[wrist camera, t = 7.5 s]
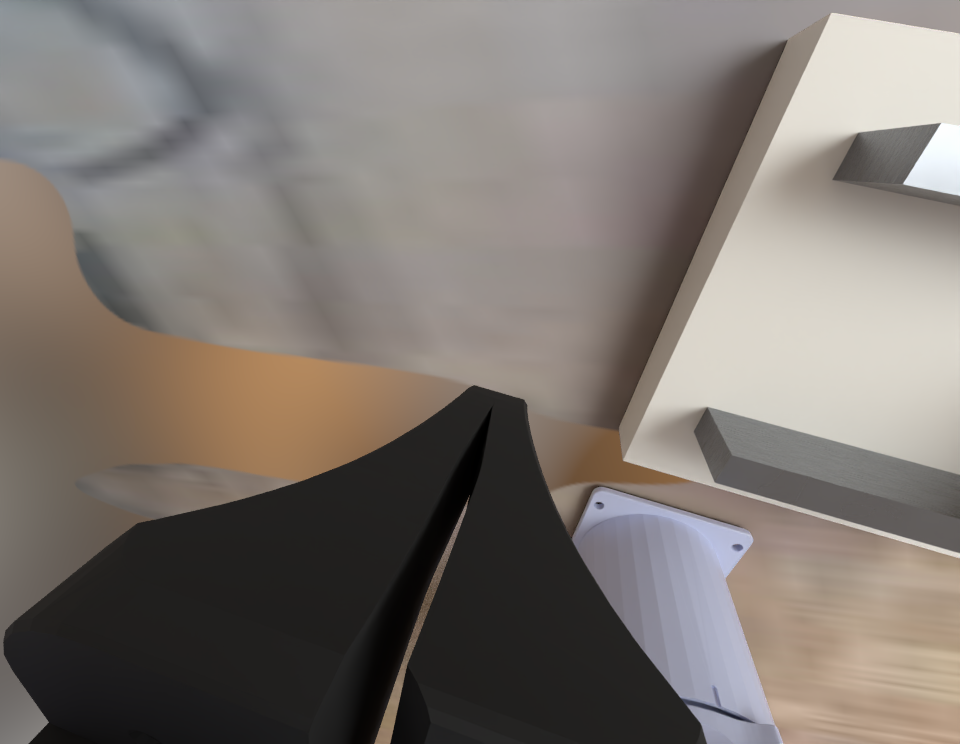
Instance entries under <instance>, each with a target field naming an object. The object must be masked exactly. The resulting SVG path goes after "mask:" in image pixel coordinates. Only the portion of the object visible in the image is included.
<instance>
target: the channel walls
mask: <svg viewBox="0 0 960 744" xmlns="http://www.w3.org/2000/svg"><path fill="white" fill-rule="evenodd" d="M832 180H835V181H840V182H845V183H850V184H855V185H860V186H864V187H869V188H874V189H879V190H884V191H889V192H894V193H899V194H903V195H908V196H913V197H918V198H923V199H928V200H933V201H938V202H942V203H947V204H952V205H957V206H960V126H955V125H950V124H945V123H936V124H928V125H919V126H910V127H902V128H893V129H884V130H876V131H867V132H858V134H857V136H856V138H855V139H854V141H853V143H852V145H851V147H850V148H849V150H848V152H847V154H846V156H845V158H844V159H843V161H842V163H841V165H840V167H839V168H838V170H837V172H836V174H835V176H834V178H833V179H832ZM694 434H695V436H696V438H697V441H698V443H699V446H700V448H701V451H702V453H703V455H704V458H705V460H706V463H707V465H708V467H709V470H710V472H711V475H712V477H713V480H714V482H715V483H718V484H721V485H725V486H728V487H731V488H735V489H738V490H742V491H745V492H749V493H752V494H756V495H759V496H763V497H766V498H770V499H773V500H776V501H780V502H783V503H787V504H790V505H794V506H797V507H801V508H804V509H808V510H811V511H815V512H818V513H822V514H825V515H828V516H832V517H835V518H839V519H842V520H846V521H849V522H853V523H856V524H860V525H863V526H867V527H870V528H873V529H877V530H880V531H884V532H887V533H891V534H894V535H898V536H901V537H905V538H908V539H912V540H915V541H919V542H922V543H925V544H929V545H932V546H936V547H939V548H943V549H946V550H950V551H953V552H957V553H960V475H959V474H955V473H951V472H947V471H944V470H940V469H936V468H933V467H929V466H925V465H921V464H918V463H914V462H910V461H907V460H903V459H899V458H896V457H892V456H888V455H884V454H881V453H877V452H873V451H870V450H866V449H862V448H858V447H855V446H851V445H847V444H844V443H840V442H836V441H832V440H829V439H825V438H821V437H818V436H814V435H810V434H807V433H803V432H799V431H795V430H792V429H788V428H784V427H781V426H777V425H773V424H769V423H766V422H762V421H758V420H755V419H751V418H747V417H744V416H740V415H736V414H732V413H729V412H725V411H721V410H718V409H714V408H710V407H707V408H706V410H705V412H704V414H703V415H702V417H701V419H700V421H699V423H698V425H697V426H696V428H695V430H694Z"/></svg>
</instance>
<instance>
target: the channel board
mask: <svg viewBox="0 0 960 744" xmlns="http://www.w3.org/2000/svg"><path fill="white" fill-rule="evenodd" d="M936 123H945V124H950V125H955V126H960V34H959V33H953V32H946V31H940V30H934V29H928V28H922V27H916V26H910V25H904V24H898V23H891V22H885V21H879V20H873V19H867V18H861V17H855V16H849V15H843V14H836V13H830V14H829V15H827V16H825V17H824V18H822V19H821V20H819V21H817V22H816V23H814V24H812V25H811V26H809V27H807V28H806V29H804V30H803V31H801V32H799V33H798V34H796V35H794V36H793V37H791V38H789V39H788V41H787V44H786V46H785V48H784V51H783V53H782V55H781V57H780V60H779V62H778V64H777V67H776V69H775V71H774V73H773V76H772V78H771V80H770V83H769V85H768V87H767V89H766V92H765V94H764V96H763V99H762V101H761V103H760V105H759V108H758V110H757V112H756V115H755V117H754V119H753V122H752V124H751V126H750V128H749V131H748V133H747V135H746V138H745V140H744V142H743V144H742V147H741V149H740V151H739V154H738V156H737V158H736V160H735V163H734V165H733V167H732V170H731V172H730V174H729V176H728V179H727V181H726V183H725V186H724V188H723V190H722V192H721V195H720V197H719V199H718V202H717V204H716V206H715V208H714V211H713V213H712V215H711V218H710V220H709V222H708V225H707V227H706V229H705V231H704V234H703V236H702V238H701V241H700V243H699V245H698V247H697V250H696V252H695V254H694V257H693V259H692V261H691V263H690V266H689V268H688V270H687V273H686V275H685V277H684V279H683V282H682V284H681V286H680V289H679V291H678V293H677V295H676V298H675V300H674V302H673V305H672V307H671V309H670V311H669V314H668V316H667V318H666V321H665V323H664V325H663V328H662V330H661V332H660V334H659V337H658V339H657V341H656V344H655V346H654V348H653V350H652V353H651V355H650V357H649V360H648V362H647V364H646V366H645V369H644V371H643V373H642V376H641V378H640V380H639V382H638V385H637V387H636V389H635V392H634V394H633V396H632V398H631V401H630V403H629V405H628V408H627V410H626V412H625V414H624V417H623V419H622V421H621V424H620V426H619V435H620V442H621V450H622V457H623V461H626V462H629V463H633V464H636V465H639V466H643V467H646V468H650V469H653V470H657V471H660V472H664V473H667V474H671V475H674V476H677V477H681V478H684V479H688V480H691V481H695V482H698V483H702V484H705V485H708V486H712V487H715V488H719V489H722V490H726V491H729V492H733V493H736V494H739V495H743V496H746V497H750V498H753V499H757V500H760V501H764V502H767V503H771V504H774V505H777V506H781V507H784V508H788V509H791V510H795V511H798V512H802V513H805V514H808V515H812V516H815V517H819V518H822V519H826V520H829V521H833V522H836V523H840V524H843V525H846V526H850V527H853V528H857V529H860V530H864V531H867V532H871V533H874V534H877V535H881V536H884V537H888V538H891V539H895V540H898V541H902V542H905V543H909V544H912V545H915V546H919V547H922V548H926V549H929V550H933V551H936V552H940V553H943V554H946V555H950V556H953V557H957V558H960V553H957V552H953V551H950V550H946V549H943V548H939V547H936V546H932V545H929V544H925V543H922V542H919V541H915V540H912V539H908V538H905V537H901V536H898V535H894V534H891V533H887V532H884V531H880V530H877V529H873V528H870V527H867V526H863V525H860V524H856V523H853V522H849V521H846V520H842V519H839V518H835V517H832V516H828V515H825V514H822V513H818V512H815V511H811V510H808V509H804V508H801V507H797V506H794V505H790V504H787V503H783V502H780V501H776V500H773V499H770V498H766V497H763V496H759V495H756V494H752V493H749V492H745V491H742V490H738V489H735V488H731V487H728V486H725V485H721V484H718V483H715V482H714V480H713V477H712V475H711V472H710V470H709V467H708V465H707V463H706V460H705V458H704V455H703V453H702V451H701V448H700V446H699V443H698V441H697V438H696V436H695V434H694V430H695V428H696V426H697V425H698V423H699V421H700V419H701V417H702V415H703V414H704V412H705V410H706V408H707V407H710V408H714V409H718V410H721V411H725V412H729V413H732V414H736V415H740V416H744V417H747V418H751V419H755V420H758V421H762V422H766V423H769V424H773V425H777V426H781V427H784V428H788V429H792V430H795V431H799V432H803V433H807V434H810V435H814V436H818V437H821V438H825V439H829V440H832V441H836V442H840V443H844V444H847V445H851V446H855V447H858V448H862V449H866V450H870V451H873V452H877V453H881V454H884V455H888V456H892V457H896V458H899V459H903V460H907V461H910V462H914V463H918V464H921V465H925V466H929V467H933V468H936V469H940V470H944V471H947V472H951V473H955V474H959V475H960V206H957V205H952V204H947V203H942V202H938V201H933V200H928V199H923V198H918V197H913V196H908V195H903V194H899V193H894V192H889V191H884V190H879V189H874V188H869V187H864V186H860V185H855V184H850V183H845V182H840V181H835V180H832V179H833V178H834V176H835V174H836V172H837V170H838V168H839V167H840V165H841V163H842V161H843V159H844V158H845V156H846V154H847V152H848V150H849V148H850V147H851V145H852V143H853V141H854V139H855V138H856V136H857V134H858V132H867V131H876V130H884V129H893V128H902V127H910V126H919V125H928V124H936Z"/></svg>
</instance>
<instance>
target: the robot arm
mask: <svg viewBox="0 0 960 744" xmlns="http://www.w3.org/2000/svg"><path fill="white" fill-rule="evenodd" d="M469 495H470V496H469ZM468 497H469V501H468V505H467V510H466V513H465V516H464V518H463V521H462V524H461V527H460V529H459V532H458V535H457V538H456V540H455V543H454V546H453V548H452V551H451V554H450V556H449V559H448V562H447V564H446V567H445V570H444V572H443V575H442V578H441V580H440V583H439V585H438V588H437V591H436V593H435V596H434V598H433V601H432V603H431V606H430V609H429V611H428V614H427V616H426V619H425V621H424V624H423V627H422V629H421V632H420V634H419V637H418V639H417V642H416V645H415V647H414V650H413V652H412V655H411V657H410V660H409V662H408V665H407V669H406V674H405V678H404V683H403V688H402V692H401V697H400V702H399V706H398V711H397V716H396V720H395V725H394V730H393V734H392V739H391V743H390V744H783V741H782V738H781V736H780V733H779V730H778V728H777V727H776V726H775V724H774V721H773V718H772V715H771V712H770V709H769V706H768V703H767V700H766V697H765V694H764V691H763V688H762V686H761V683H760V680H759V677H758V674H757V671H756V668H755V665H754V662H753V659H752V656H751V653H750V650H749V647H748V645H747V642H746V639H745V636H744V633H743V630H742V627H741V624H740V621H739V618H738V615H737V612H736V609H735V607H734V604H733V601H732V598H731V595H730V592H729V589H728V586H727V583H726V580H725V578H726V577H727V576H728V574H729V573H730V572H731V570H732V569H733V568H734V566H735V565H736V564H737V563H738V561H739V560H740V559H741V557H742V556H743V555H744V553H745V552H746V551H747V549H748V548H749V547H750V546H751V544H752V542H753V538H752V535H751V533H750V532H749V531H748V530H746V529H743V528H740V527H737V526H733V525H730V524H727V523H723V522H720V521H717V520H713V519H710V518H706V517H703V516H700V515H696V514H693V513H690V512H686V511H683V510H680V509H676V508H673V507H670V506H666V505H663V504H660V503H656V502H653V501H649V500H646V499H643V498H639V497H636V496H633V495H629V494H626V493H623V492H619V491H616V490H613V489H609V488H606V487H597V488H595V489H594V490H593V491H592V493H591V496H590V498H589V500H588V503H587V505H586V507H585V509H584V512H583V514H582V516H581V519H580V521H579V523H578V525H577V528H576V530H575V532H574V534H573V537H572V539H571V537H570V535H569V533H568V531H567V529H566V527H565V525H564V523H563V521H562V519H561V517H560V515H559V513H558V511H557V508H556V506H555V504H554V501H553V499H552V497H551V494H550V492H549V490H548V487H547V484H546V481H545V479H544V476H543V474H542V470H541V467H540V464H539V461H538V458H537V455H536V451H535V447H534V444H533V440H532V436H531V432H530V427H529V421H528V413H527V404H526V402H525V401H524V400H523V399H520V398H516V397H513V396H509V395H506V394H502V393H499V392H496V391H492V390H489V389H485V388H482V387H478V386H475V385H474V386H472V387H470V388H468V389H467V390H466V391H465V392H463V393H462V394H461V395H460V396H459V397H457V398H456V399H455V400H454V401H452V402H451V403H450V404H448V405H447V406H446V407H445V408H443V409H442V410H440V411H439V412H438V413H436V414H435V415H433V416H432V417H430V418H429V419H428V420H426V421H425V422H423V423H422V424H420V425H419V426H417V427H415V428H414V429H412V430H410V431H409V432H407V433H405V434H404V435H402V436H400V437H399V438H397V439H395V440H394V441H392V442H390V443H388V444H386V445H384V446H383V447H381V448H379V449H377V450H375V451H373V452H371V453H369V454H367V455H365V456H363V457H360V458H358V459H357V460H354V461H352V462H350V463H347V464H345V465H342V466H340V467H338V468H335V469H332V470H330V471H327V472H325V473H322V474H319V475H317V476H314V477H312V478H309V479H306V480H304V481H301V482H298V483H295V484H291V485H288V486H285V487H282V488H279V489H276V490H273V491H269V492H266V493H262V494H259V495H255V496H252V497H248V498H245V499H241V500H238V501H234V502H230V503H226V504H222V505H218V506H213V507H209V508H205V509H200V510H196V511H192V512H187V513H183V514H178V515H174V516H170V517H165V518H161V519H156V520H151V521H146V522H141V523H137V524H136V525H135V526H133V527H132V528H131V529H129V530H128V531H127V532H125V533H124V534H123V535H121V536H120V537H119V538H117V539H116V540H115V541H113V542H112V543H111V544H109V545H108V546H107V547H105V548H104V549H103V550H102V551H101V552H99V553H98V554H97V555H96V556H94V557H93V558H92V559H91V560H89V561H88V562H87V563H86V564H84V565H83V566H82V567H81V568H79V569H78V570H77V571H76V572H75V573H73V574H72V575H71V576H70V577H69V578H68V579H66V580H65V581H64V582H62V583H61V584H60V585H59V586H57V587H56V588H55V589H54V590H53V591H51V592H50V593H49V594H47V596H45V597H44V598H43V599H41V600H40V601H39V602H38V603H36V604H35V605H34V606H33V607H31V608H30V609H29V610H28V611H27V612H25V613H24V614H23V615H22V616H20V617H19V618H18V619H17V620H16V621H14V622H13V623H12V624H11V625H10V627H9V628H8V629H7V630H6V632H5V637H4V642H3V643H4V655H5V657H6V659H7V661H8V663H9V665H10V666H11V668H12V670H13V672H14V673H15V675H16V676H17V678H18V679H19V680H20V682H21V683H22V685H23V686H24V687H25V689H26V690H27V692H28V693H29V695H30V696H31V697H32V699H33V700H34V702H35V703H36V704H37V706H38V707H39V709H40V710H41V712H42V713H43V714H44V716H45V717H46V719H47V720H48V721H49V723H48V724H47V725H46V726H45V727H44V728H43V730H41V732H40V733H38V735H37V736H36V737H35V738H34V739H33V740H32V741H31V742H30V743H29V744H374V743H375V740H376V737H377V734H378V731H379V728H380V725H381V722H382V719H383V716H384V713H385V710H386V708H387V705H388V702H389V699H390V696H391V693H392V690H393V687H394V684H395V681H396V678H397V675H398V672H399V670H400V667H401V664H402V661H403V658H404V655H405V652H406V649H407V646H408V643H409V640H410V638H411V635H412V632H413V629H414V626H415V623H416V620H417V617H418V615H419V612H420V609H421V606H422V603H423V600H424V597H425V595H426V592H427V590H428V587H429V585H430V582H431V580H432V577H433V575H434V573H435V571H436V568H437V566H438V564H439V562H440V560H441V557H442V555H443V553H444V551H445V549H446V546H447V544H448V542H449V540H450V537H451V535H452V533H453V531H454V529H455V526H456V524H457V522H458V520H459V518H460V515H461V513H462V511H463V509H464V506H465V504H466V502H467V500H468ZM596 502H601V503H602V504H596ZM734 544H738V545H734Z"/></svg>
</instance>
